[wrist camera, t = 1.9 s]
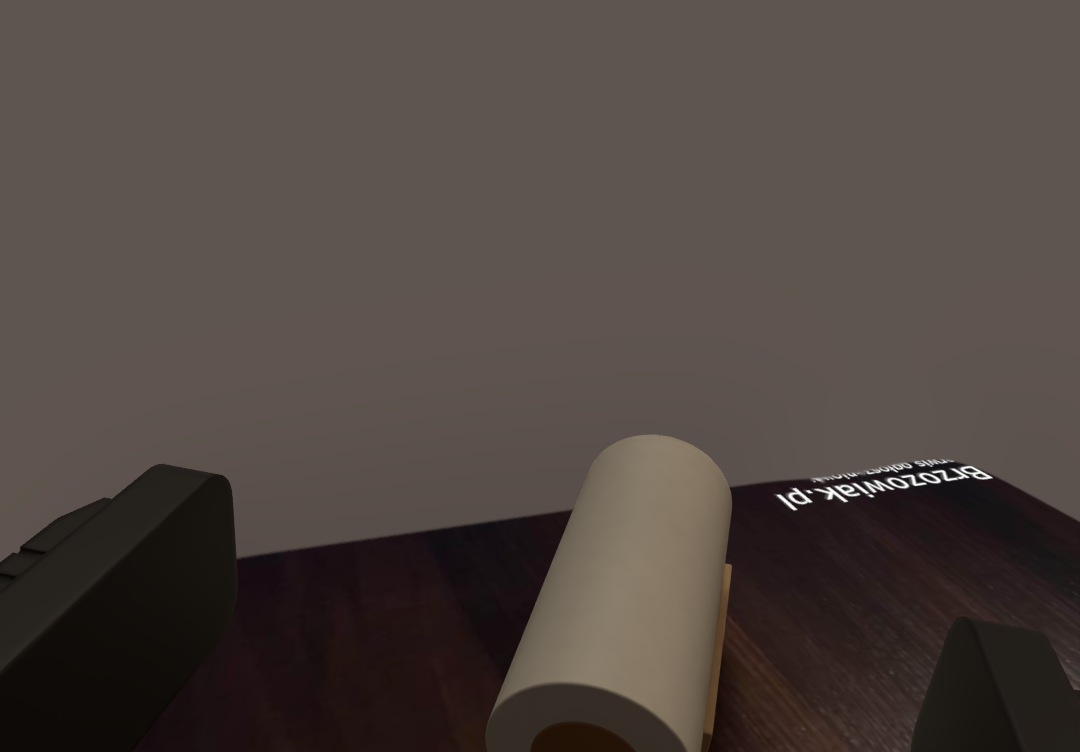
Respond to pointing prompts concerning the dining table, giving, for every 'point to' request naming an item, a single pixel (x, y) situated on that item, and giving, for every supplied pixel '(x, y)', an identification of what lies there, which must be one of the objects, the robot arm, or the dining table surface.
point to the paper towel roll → (624, 611)
